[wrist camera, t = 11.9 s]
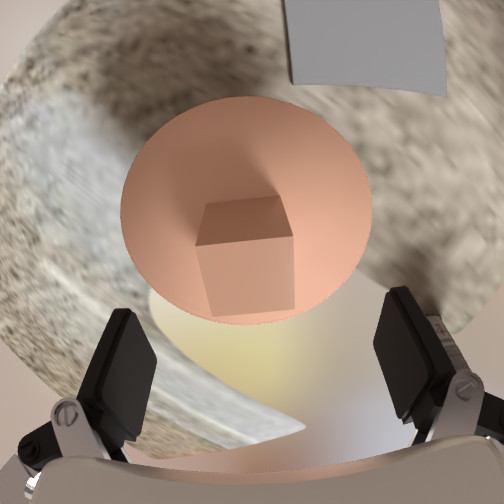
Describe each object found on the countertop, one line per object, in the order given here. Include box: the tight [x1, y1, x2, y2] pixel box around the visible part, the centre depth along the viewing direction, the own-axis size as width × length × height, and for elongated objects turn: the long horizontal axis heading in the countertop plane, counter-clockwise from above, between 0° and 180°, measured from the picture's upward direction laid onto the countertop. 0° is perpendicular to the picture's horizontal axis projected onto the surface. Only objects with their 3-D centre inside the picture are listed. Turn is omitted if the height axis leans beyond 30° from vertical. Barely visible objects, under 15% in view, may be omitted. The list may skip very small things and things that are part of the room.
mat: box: [284, 0, 447, 97], centre depth 17 cm, size 16×16×1 cm
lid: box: [120, 96, 372, 325], centre depth 15 cm, size 15×15×6 cm
